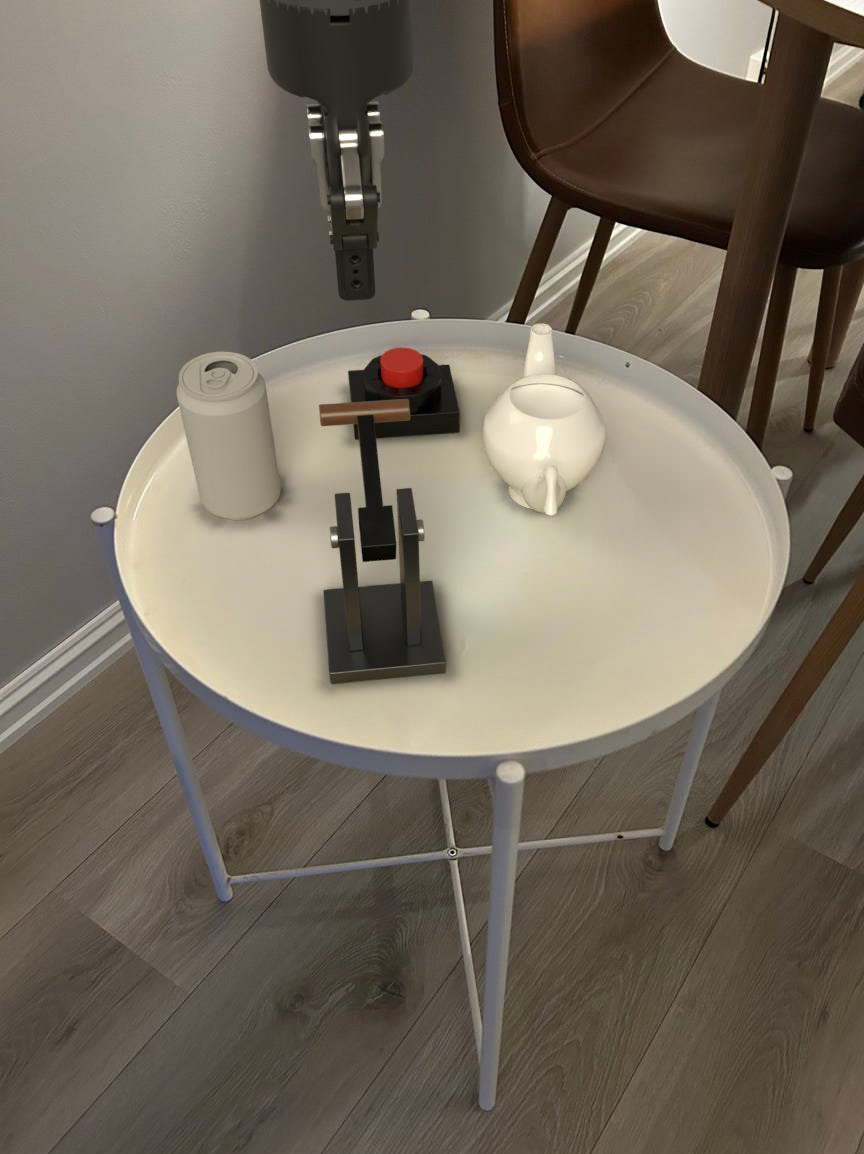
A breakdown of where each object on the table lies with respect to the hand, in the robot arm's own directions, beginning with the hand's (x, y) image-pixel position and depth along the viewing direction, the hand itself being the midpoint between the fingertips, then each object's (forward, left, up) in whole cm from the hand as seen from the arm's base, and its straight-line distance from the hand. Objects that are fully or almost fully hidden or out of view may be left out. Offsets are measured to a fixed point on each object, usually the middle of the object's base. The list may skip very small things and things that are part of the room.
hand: (356, 293), depth 65 cm
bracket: (0, -8, -22) cm, 24 cm away
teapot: (+14, +6, -23) cm, 27 cm away
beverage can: (-10, +8, -23) cm, 26 cm away
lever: (0, -4, -12) cm, 13 cm away
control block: (+4, +18, -22) cm, 29 cm away
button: (+4, +18, -19) cm, 26 cm away
